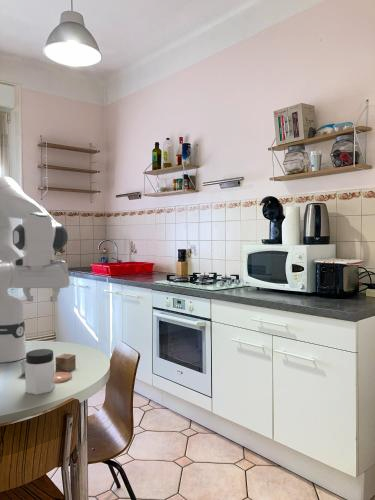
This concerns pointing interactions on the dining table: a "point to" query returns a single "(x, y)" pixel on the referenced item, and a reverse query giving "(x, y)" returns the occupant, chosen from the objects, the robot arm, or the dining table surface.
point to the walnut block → (65, 362)
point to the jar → (39, 371)
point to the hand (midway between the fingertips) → (41, 301)
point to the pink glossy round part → (62, 377)
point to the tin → (23, 367)
